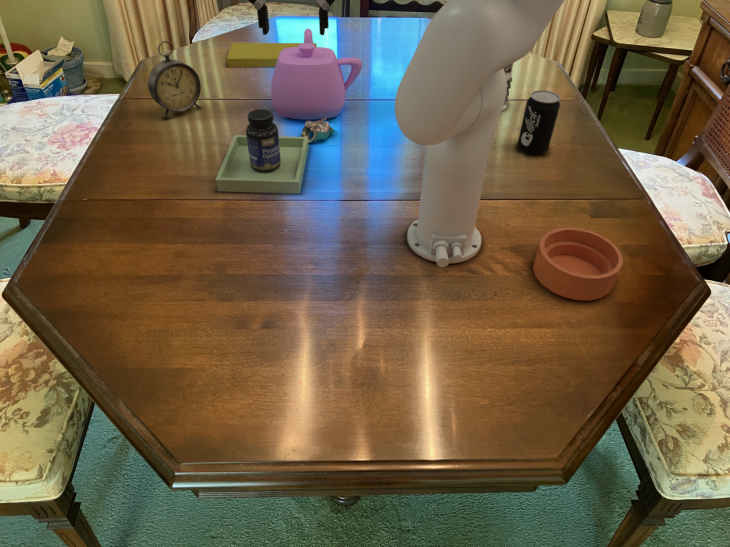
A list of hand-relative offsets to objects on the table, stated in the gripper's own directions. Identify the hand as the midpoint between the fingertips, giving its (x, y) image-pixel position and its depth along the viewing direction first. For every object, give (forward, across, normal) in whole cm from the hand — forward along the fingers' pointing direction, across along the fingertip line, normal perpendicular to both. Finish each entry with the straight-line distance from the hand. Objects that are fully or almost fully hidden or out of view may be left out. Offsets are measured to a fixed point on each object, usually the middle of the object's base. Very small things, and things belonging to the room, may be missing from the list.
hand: (294, 32), depth 94 cm
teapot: (+26, -1, +27) cm, 38 cm away
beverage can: (+27, +48, +9) cm, 56 cm away
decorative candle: (+27, +43, +32) cm, 60 cm away
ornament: (+26, +2, +13) cm, 30 cm away
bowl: (+27, +46, -32) cm, 62 cm away
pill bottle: (+26, -8, 0) cm, 27 cm away
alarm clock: (+26, -31, +24) cm, 47 cm away
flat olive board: (+26, -14, +59) cm, 65 cm away
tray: (+26, -8, 0) cm, 27 cm away
